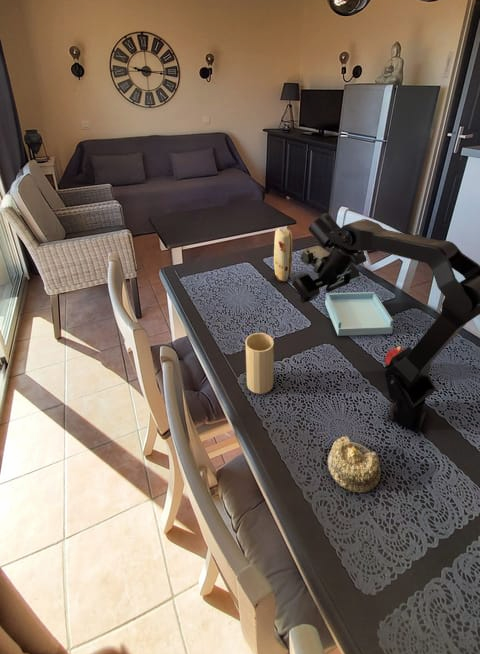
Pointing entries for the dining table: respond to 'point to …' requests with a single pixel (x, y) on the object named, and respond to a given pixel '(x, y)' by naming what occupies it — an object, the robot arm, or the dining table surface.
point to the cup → (259, 362)
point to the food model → (283, 254)
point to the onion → (392, 354)
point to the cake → (353, 466)
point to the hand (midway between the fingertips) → (314, 296)
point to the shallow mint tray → (358, 314)
